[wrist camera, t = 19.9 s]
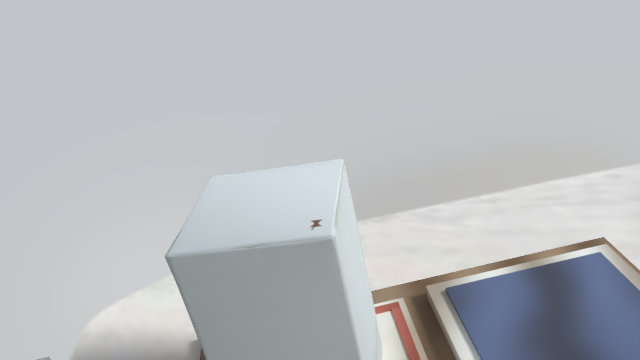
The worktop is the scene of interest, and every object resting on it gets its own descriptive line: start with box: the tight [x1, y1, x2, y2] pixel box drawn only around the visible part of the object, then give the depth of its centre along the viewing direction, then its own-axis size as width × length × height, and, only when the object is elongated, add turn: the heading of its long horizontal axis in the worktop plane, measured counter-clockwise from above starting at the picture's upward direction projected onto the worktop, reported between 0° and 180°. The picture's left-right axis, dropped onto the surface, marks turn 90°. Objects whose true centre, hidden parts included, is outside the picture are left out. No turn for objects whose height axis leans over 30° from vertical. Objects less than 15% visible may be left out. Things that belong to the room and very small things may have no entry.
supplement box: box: [165, 159, 383, 360], centre depth 29 cm, size 7×7×13 cm
